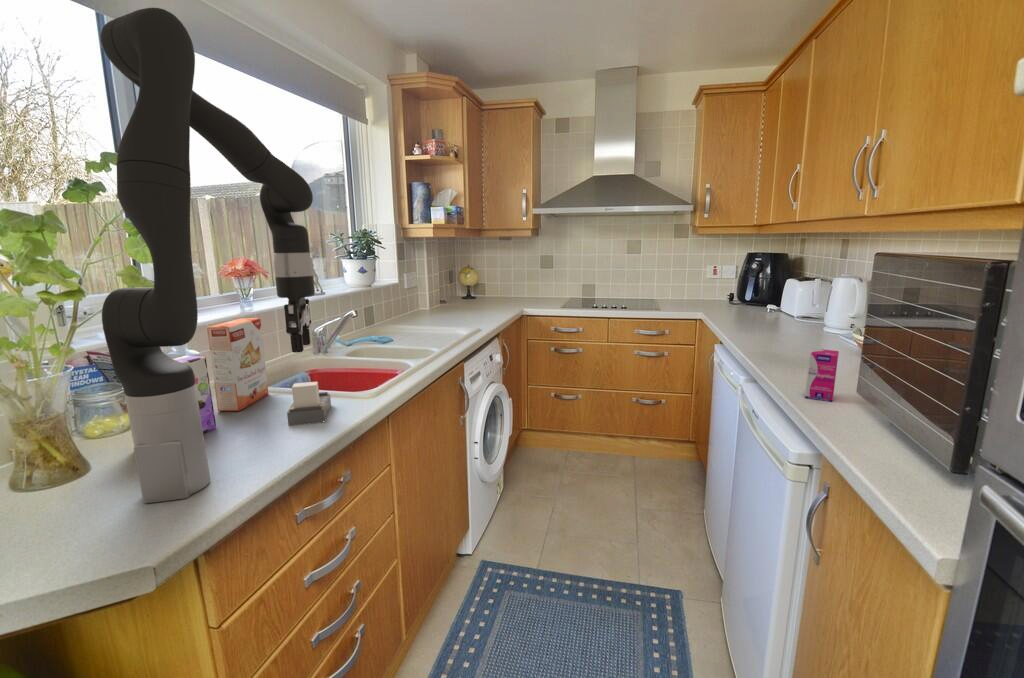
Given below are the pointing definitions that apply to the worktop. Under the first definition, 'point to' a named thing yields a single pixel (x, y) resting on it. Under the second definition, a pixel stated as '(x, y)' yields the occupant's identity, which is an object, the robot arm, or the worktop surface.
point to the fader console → (310, 412)
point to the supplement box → (821, 374)
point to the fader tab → (305, 394)
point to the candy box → (201, 389)
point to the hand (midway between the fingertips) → (301, 348)
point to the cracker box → (237, 363)
